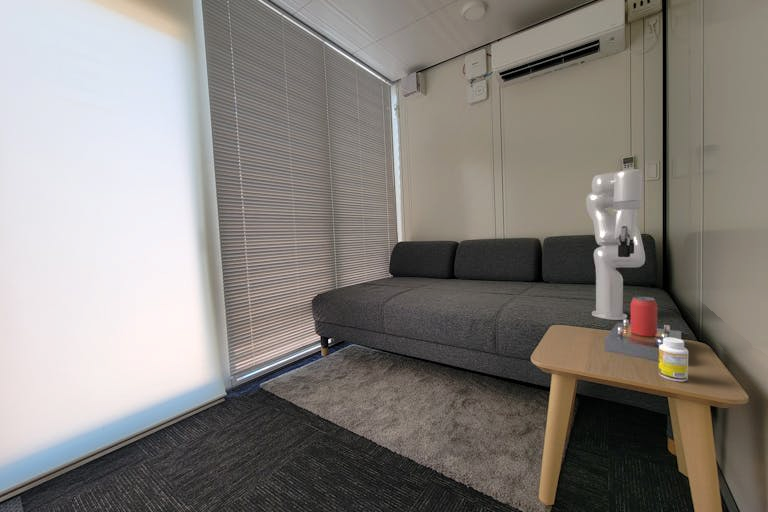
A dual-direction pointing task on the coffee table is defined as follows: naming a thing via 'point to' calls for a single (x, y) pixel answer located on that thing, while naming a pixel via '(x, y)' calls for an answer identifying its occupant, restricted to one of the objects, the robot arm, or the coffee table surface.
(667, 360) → the supplement bottle
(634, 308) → the beer can
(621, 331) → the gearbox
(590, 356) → the coffee table surface
